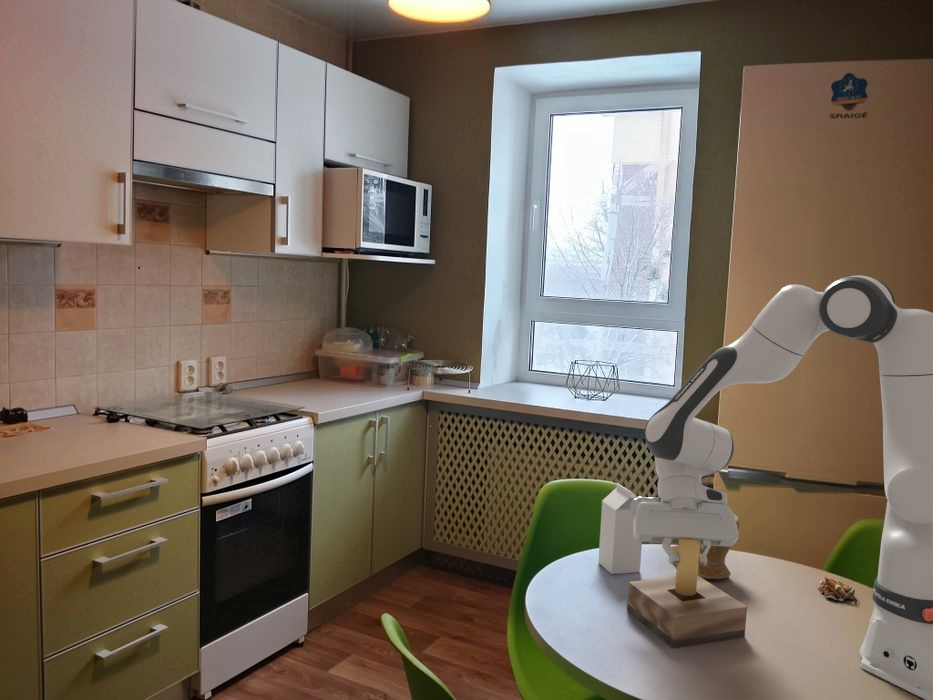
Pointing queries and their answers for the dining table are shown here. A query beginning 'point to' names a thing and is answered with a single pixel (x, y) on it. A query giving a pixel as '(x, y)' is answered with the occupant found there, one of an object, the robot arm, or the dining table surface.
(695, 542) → the pin
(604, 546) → the milk carton
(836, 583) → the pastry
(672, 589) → the bore block
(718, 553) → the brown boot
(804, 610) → the dining table surface
